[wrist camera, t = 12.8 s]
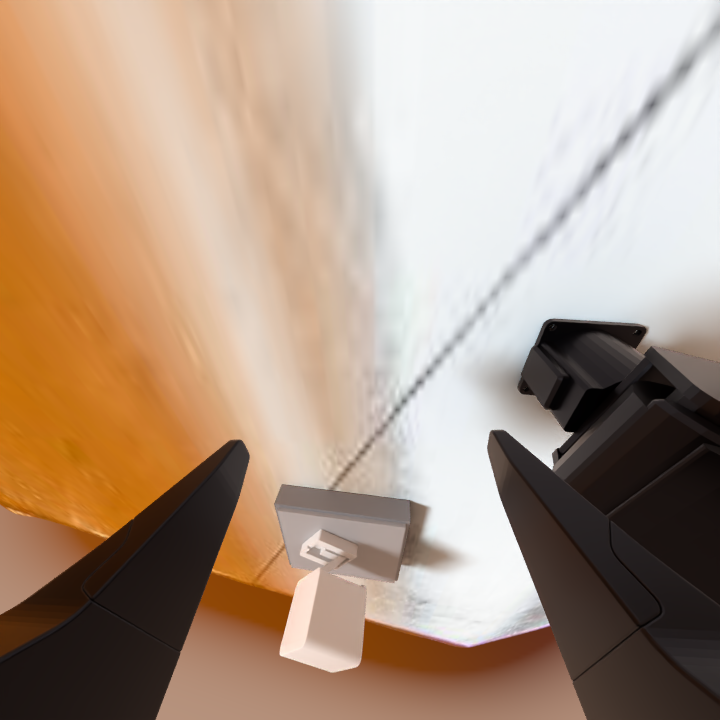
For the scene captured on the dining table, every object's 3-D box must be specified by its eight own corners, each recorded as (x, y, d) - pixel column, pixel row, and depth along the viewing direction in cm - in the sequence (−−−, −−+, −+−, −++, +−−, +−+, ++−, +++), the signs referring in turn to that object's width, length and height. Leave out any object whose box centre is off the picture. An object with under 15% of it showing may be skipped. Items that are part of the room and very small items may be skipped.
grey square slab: (409, 500, 33) (410, 526, 30) (397, 561, 41) (397, 585, 39) (281, 484, 34) (272, 507, 32) (295, 546, 43) (288, 568, 40)
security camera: (345, 564, 37) (329, 673, 29) (300, 545, 36) (270, 654, 27) (370, 548, 34) (361, 666, 26) (322, 527, 33) (296, 644, 24)
